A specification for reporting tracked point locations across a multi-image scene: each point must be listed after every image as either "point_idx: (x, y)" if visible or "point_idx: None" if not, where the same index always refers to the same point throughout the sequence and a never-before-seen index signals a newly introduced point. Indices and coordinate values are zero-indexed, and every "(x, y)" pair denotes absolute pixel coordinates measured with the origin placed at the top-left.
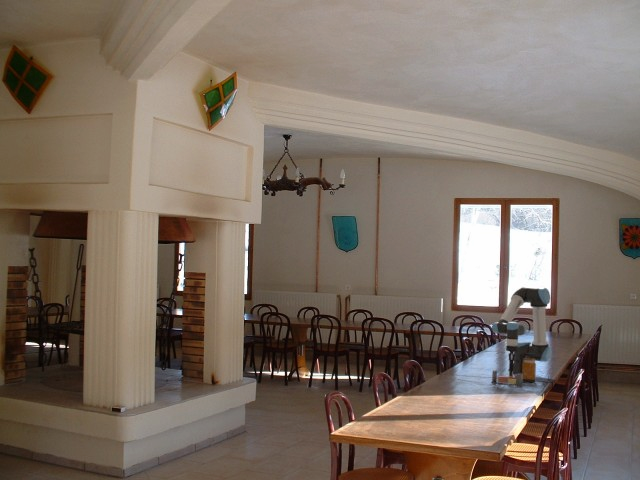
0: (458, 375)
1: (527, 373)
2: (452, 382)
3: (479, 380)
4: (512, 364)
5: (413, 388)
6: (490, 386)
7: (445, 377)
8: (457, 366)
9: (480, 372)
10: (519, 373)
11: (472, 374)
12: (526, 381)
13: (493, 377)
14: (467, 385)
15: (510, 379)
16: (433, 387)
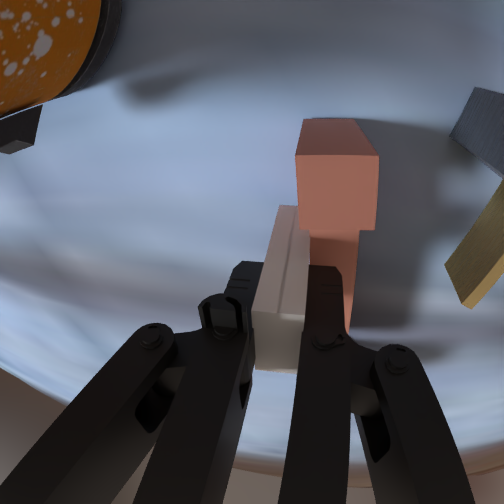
0: None
1: (36, 12)
2: None
3: (264, 406)
4: (459, 501)
5: (485, 473)
6: (493, 365)
7: (258, 466)
8: (4, 368)
9: (16, 337)
10: (15, 146)
11: (87, 383)
12: (117, 24)
13: None
14: (455, 432)
15: (489, 277)
16: (480, 463)
